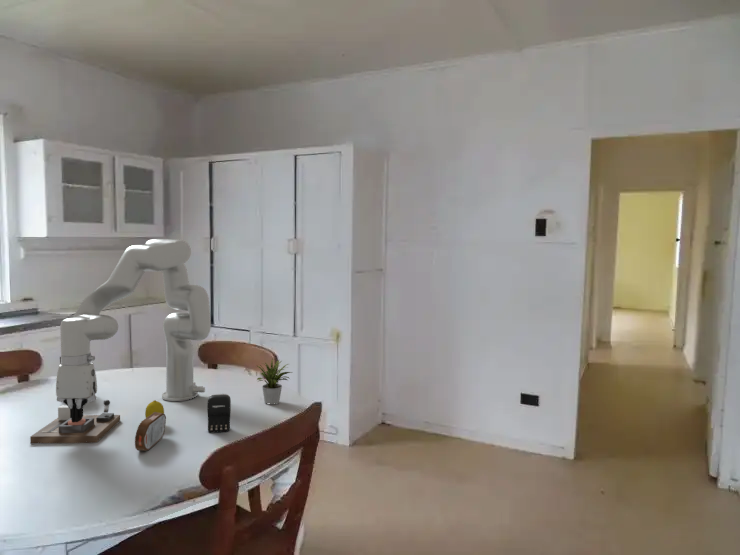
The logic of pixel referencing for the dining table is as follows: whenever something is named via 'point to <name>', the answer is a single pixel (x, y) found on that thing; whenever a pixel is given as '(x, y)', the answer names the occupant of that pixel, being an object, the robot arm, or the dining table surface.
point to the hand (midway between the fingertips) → (76, 420)
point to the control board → (76, 430)
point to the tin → (150, 431)
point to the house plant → (272, 382)
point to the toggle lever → (106, 406)
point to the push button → (77, 422)
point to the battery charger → (219, 412)
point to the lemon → (154, 408)
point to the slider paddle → (63, 412)
